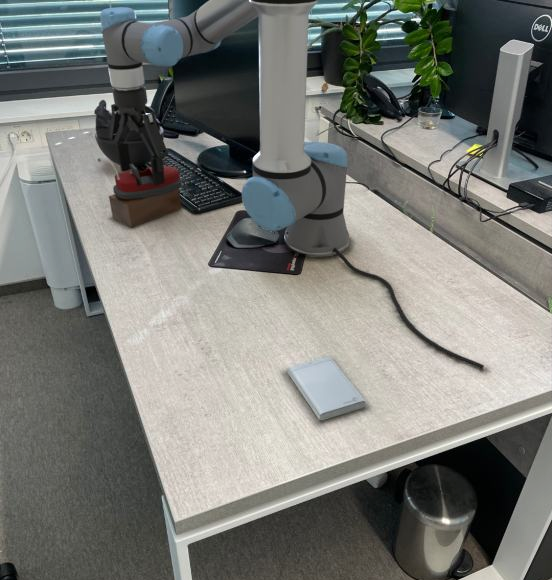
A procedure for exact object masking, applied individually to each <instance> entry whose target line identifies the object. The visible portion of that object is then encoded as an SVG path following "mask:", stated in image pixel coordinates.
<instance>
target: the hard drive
mask: <svg viewBox="0 0 552 580" xmlns="http://www.w3.org/2000/svg"><path fill="white" fill-rule="evenodd" d="M287 374H288V376H289V377H290V379H291V380H292V382H293V383H294V385H295V386H296V388H297V389H298V391H299V392H300V394H301V395H302V396H303V398H304V400H305V401H306V402H307V404H308V405H309V407H310V408H311V410H312V411H313V413H314V415H315V416H316V417H317V419H318V420H319V421H324V420H327V419H331V418H334V417H338V416H341V415H345V414H348V413H350V412H351V413H352V412H354V411H357V410H361V409H363V408H365V407H366V400H365V398H364V397H363V396H362V395H361V393H360V392H359V391H358V390H357V389H356V387H355V386H354V385H353V383H352V382H351V381H350V380H349V379H348V377H347V376H346V374H345V373H344V372H343V371H342V370H341V368H340V367H339V365H338V364H337V363H336V362H335V361H334V359H333V358H332V357H331V356H325V357H320V358H317V359H313V360H309V361H306V362H302V363H299V364H296V365H293V366H292V365H291V366H289V367H288V368H287Z"/></svg>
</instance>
